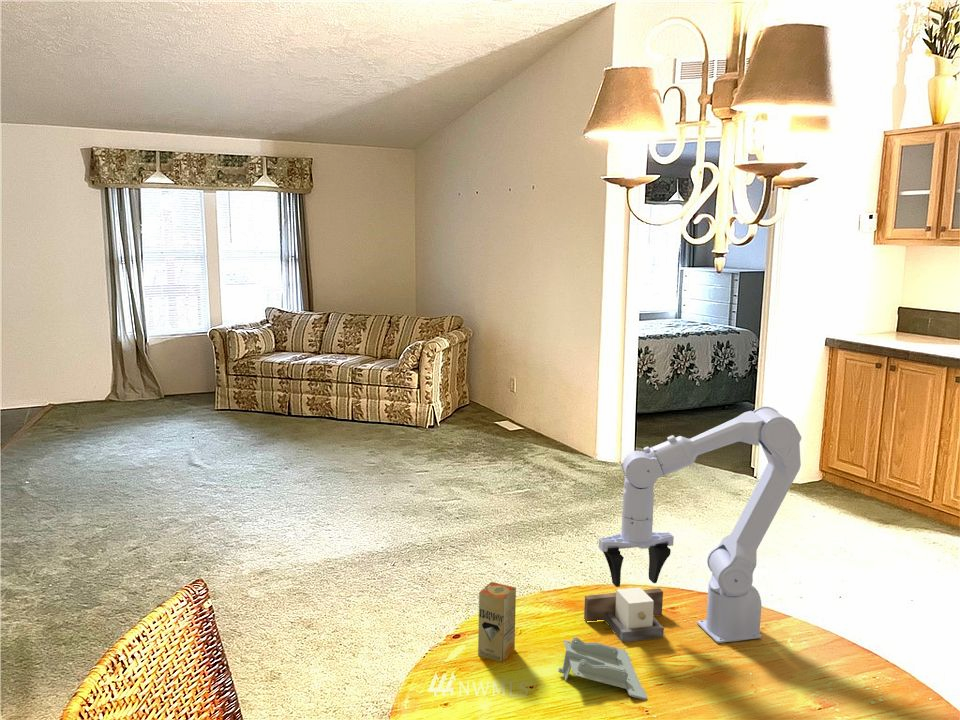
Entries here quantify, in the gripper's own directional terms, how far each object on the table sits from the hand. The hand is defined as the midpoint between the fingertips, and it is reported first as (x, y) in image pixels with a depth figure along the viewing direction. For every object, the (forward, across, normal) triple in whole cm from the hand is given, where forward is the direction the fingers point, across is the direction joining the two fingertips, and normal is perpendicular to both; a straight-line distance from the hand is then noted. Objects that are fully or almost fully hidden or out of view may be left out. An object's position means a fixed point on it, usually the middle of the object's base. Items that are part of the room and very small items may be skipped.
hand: (634, 582), depth 148 cm
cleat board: (+9, 0, 0) cm, 9 cm away
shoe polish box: (+9, -28, -3) cm, 30 cm away
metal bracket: (+10, -12, -14) cm, 21 cm away
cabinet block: (+9, 0, 0) cm, 9 cm away
